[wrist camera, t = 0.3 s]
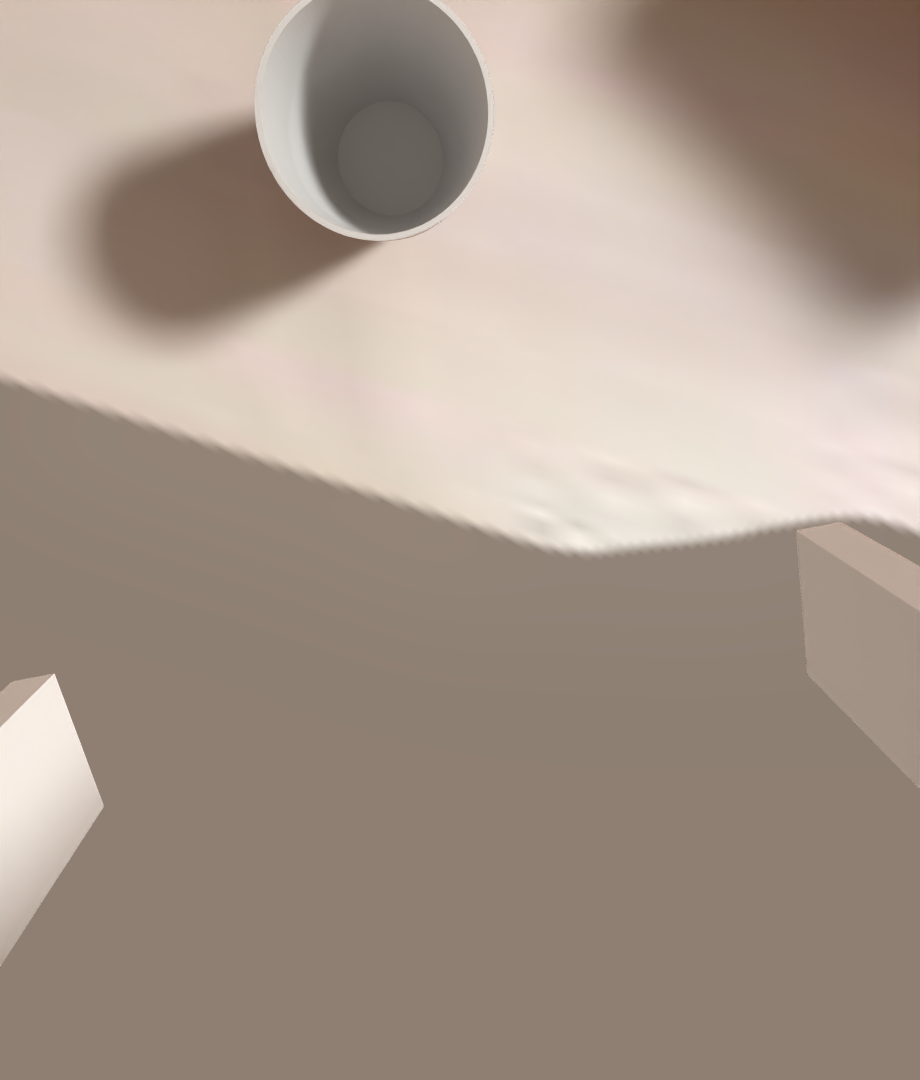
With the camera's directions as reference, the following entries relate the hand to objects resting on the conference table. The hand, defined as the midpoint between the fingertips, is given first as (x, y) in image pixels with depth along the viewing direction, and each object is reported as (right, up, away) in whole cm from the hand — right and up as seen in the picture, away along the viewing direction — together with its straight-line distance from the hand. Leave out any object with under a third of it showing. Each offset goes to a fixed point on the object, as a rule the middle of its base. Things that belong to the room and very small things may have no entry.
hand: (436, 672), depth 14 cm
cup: (-3, +20, +23) cm, 30 cm away
